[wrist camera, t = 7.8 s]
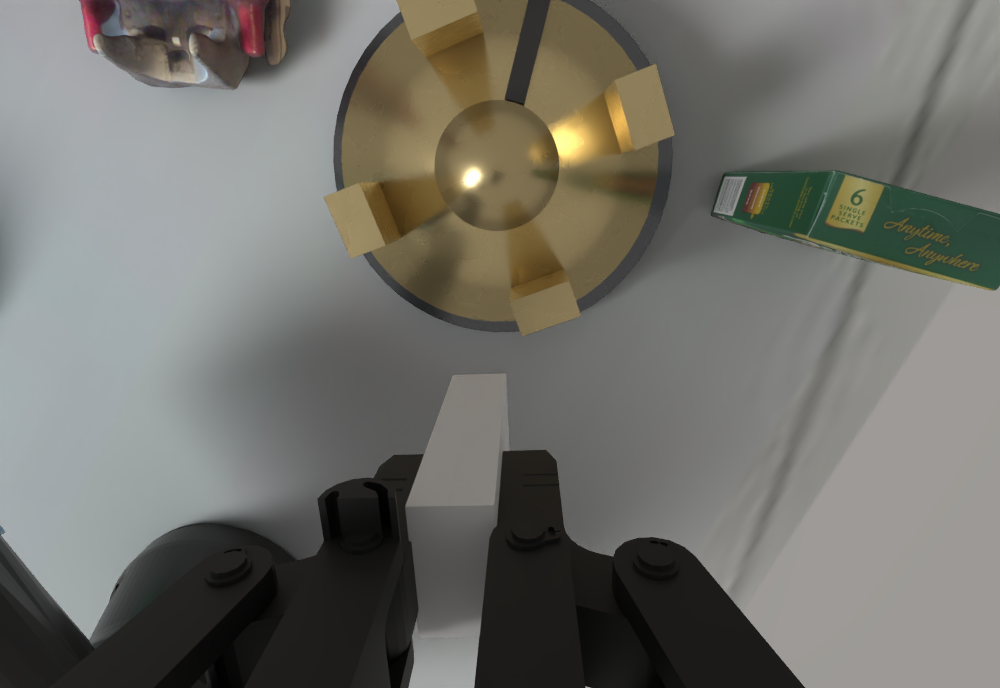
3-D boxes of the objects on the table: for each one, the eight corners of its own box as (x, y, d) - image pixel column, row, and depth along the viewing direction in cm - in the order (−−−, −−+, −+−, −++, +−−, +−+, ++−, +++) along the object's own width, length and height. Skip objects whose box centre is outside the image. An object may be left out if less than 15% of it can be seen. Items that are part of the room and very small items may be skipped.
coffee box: (701, 216, 34) (805, 240, 21) (719, 168, 33) (839, 163, 20) (827, 253, 34) (1004, 298, 21) (848, 206, 33) (1045, 224, 21)
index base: (683, 289, 35) (708, 307, 30) (393, 349, 37) (373, 375, 32) (637, -54, 30) (658, -98, 25) (302, 36, 32) (263, 12, 27)
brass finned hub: (594, -47, 28) (614, -111, 22) (679, 255, 32) (717, 273, 26) (310, 77, 30) (254, 51, 24) (423, 344, 34) (401, 382, 28)
